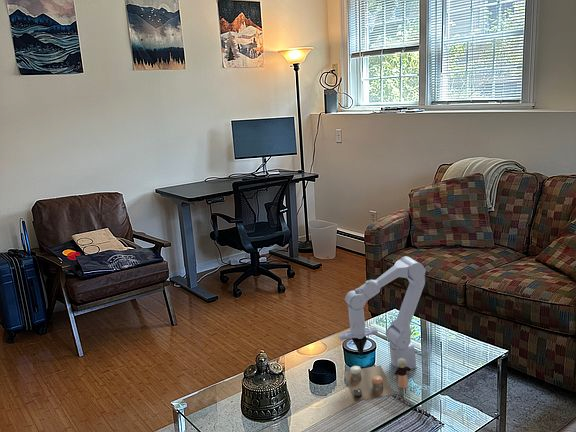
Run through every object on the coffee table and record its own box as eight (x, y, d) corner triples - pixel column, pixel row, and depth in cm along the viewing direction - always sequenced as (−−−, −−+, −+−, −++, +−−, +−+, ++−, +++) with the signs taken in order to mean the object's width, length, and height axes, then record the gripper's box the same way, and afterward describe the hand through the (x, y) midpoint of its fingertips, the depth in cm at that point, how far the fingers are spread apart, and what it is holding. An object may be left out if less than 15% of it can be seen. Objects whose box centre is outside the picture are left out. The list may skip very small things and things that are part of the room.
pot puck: (353, 394, 200) (351, 387, 199) (360, 391, 200) (358, 384, 199) (356, 398, 197) (354, 391, 196) (363, 396, 198) (361, 389, 197)
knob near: (381, 383, 204) (380, 374, 203) (384, 389, 200) (383, 380, 199) (371, 384, 204) (370, 376, 203) (373, 390, 200) (373, 382, 199)
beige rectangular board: (380, 368, 217) (379, 359, 215) (395, 397, 197) (394, 387, 196) (343, 375, 215) (342, 366, 214) (355, 404, 196) (354, 395, 195)
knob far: (360, 373, 212) (359, 365, 211) (362, 378, 208) (361, 370, 207) (350, 374, 212) (349, 366, 211) (352, 380, 208) (351, 372, 207)
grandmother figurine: (399, 395, 198) (396, 364, 195) (392, 390, 202) (390, 360, 198) (416, 387, 202) (413, 357, 198) (409, 382, 205) (406, 352, 202)
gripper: (340, 329, 203) (344, 362, 206) (378, 323, 204) (381, 355, 207) (336, 321, 209) (340, 352, 213) (373, 315, 210) (376, 346, 214)
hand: (360, 353), depth 210 cm, fingers closed
